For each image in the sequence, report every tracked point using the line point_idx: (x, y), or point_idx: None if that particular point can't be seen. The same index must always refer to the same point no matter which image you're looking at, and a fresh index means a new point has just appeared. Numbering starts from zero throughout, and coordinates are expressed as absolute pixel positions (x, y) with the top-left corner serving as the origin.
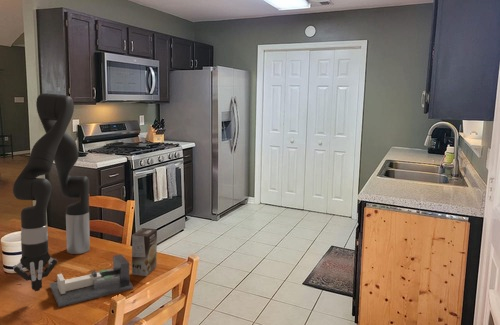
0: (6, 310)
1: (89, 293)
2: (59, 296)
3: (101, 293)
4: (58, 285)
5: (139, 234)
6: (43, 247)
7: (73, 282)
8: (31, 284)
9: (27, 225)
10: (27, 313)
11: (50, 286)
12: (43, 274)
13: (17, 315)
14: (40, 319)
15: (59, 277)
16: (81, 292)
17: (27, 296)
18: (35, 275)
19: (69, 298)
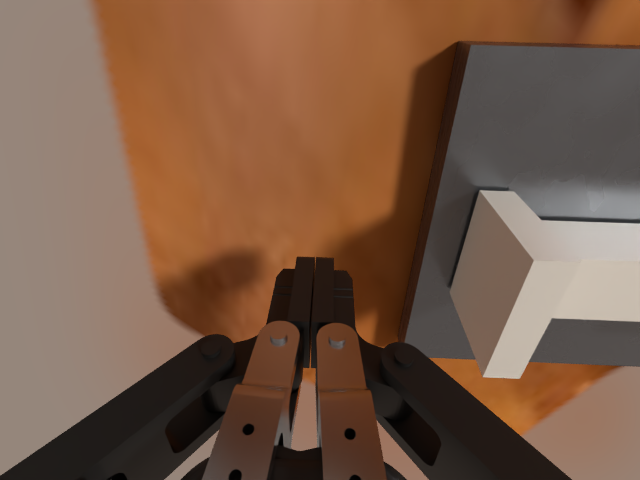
0: (154, 240)
1: (580, 346)
2: (433, 301)
3: (628, 361)
4: (480, 248)
5: None
6: None
7: (576, 315)
8: (273, 297)
9: None
10: (258, 315)
11: (456, 78)
12: (374, 403)
13: (214, 309)
14: (304, 375)
15: (510, 328)
16: (557, 319)
17: (268, 122)
18: (293, 424)
19: (466, 344)
